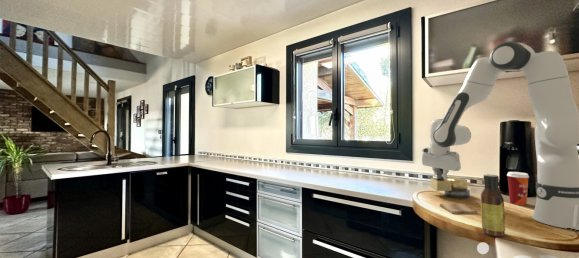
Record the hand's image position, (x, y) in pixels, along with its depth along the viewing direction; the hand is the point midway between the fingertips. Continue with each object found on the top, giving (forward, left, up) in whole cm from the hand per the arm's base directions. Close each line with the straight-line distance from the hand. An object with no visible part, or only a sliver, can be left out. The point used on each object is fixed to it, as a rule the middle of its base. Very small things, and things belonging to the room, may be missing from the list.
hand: (440, 176), depth 131 cm
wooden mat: (+4, +22, -10) cm, 24 cm away
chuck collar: (-5, 0, -7) cm, 8 cm away
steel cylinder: (0, 0, -5) cm, 5 cm away
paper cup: (-27, +14, -10) cm, 32 cm away
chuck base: (-8, 0, -10) cm, 13 cm away
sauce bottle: (+6, +46, -10) cm, 47 cm away
